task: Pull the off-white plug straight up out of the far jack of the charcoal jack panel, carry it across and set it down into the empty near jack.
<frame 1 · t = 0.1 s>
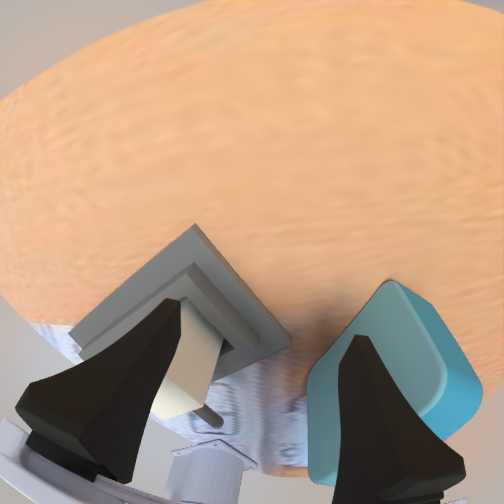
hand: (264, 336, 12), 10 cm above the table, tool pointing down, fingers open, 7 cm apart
plug: (191, 323, 24), point 1 cm above the table, touching jack panel
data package: (364, 337, 24), on the table
jack panel: (164, 335, 26), on the table
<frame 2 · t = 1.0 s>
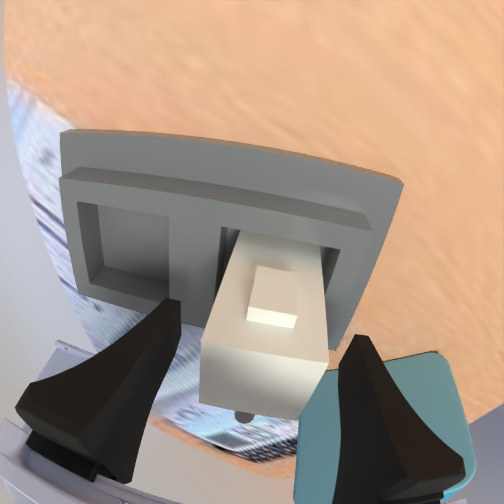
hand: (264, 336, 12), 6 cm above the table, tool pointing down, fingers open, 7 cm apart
plug: (273, 264, 17), point 1 cm above the table, touching jack panel
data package: (374, 376, 23), on the table
jack panel: (207, 241, 18), on the table
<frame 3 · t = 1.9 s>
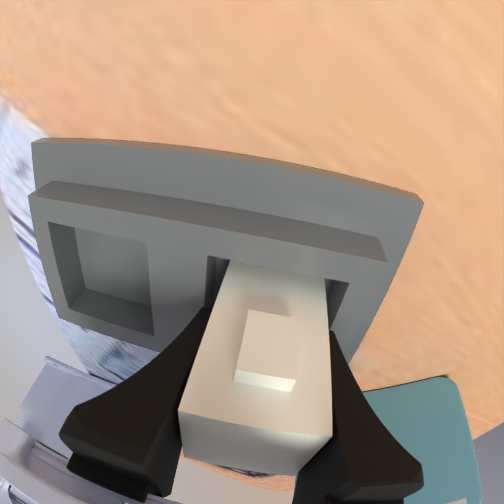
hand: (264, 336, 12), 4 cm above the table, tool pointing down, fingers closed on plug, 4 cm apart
plug: (271, 292, 15), point 1 cm above the table, touching gripper, jack panel
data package: (378, 400, 20), on the table
jack panel: (195, 264, 16), on the table
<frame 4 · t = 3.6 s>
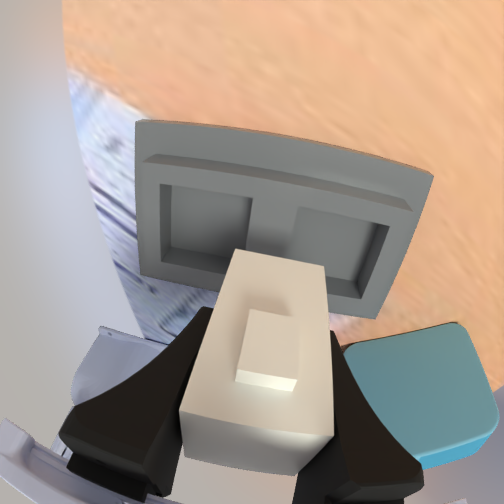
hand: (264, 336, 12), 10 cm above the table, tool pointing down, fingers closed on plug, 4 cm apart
plug: (271, 292, 15), point 7 cm above the table, touching gripper
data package: (403, 346, 25), on the table
jack panel: (271, 222, 21), on the table
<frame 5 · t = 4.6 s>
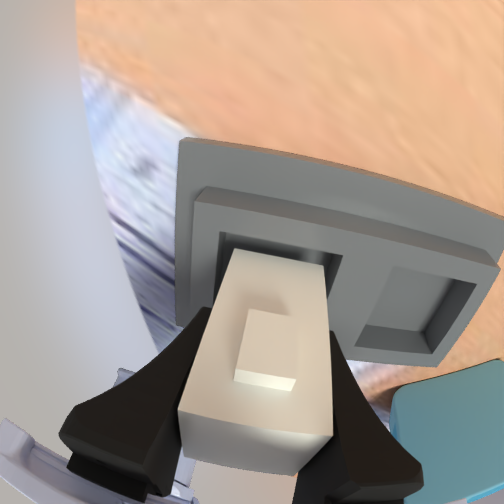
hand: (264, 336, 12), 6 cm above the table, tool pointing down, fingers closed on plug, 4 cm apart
plug: (271, 291, 14), point 3 cm above the table, touching gripper
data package: (447, 383, 22), on the table
jack panel: (343, 272, 17), on the table
when the fingers open (5 cm above the table, at t = 5.2 s): plug stays where it is, resting on jack panel.
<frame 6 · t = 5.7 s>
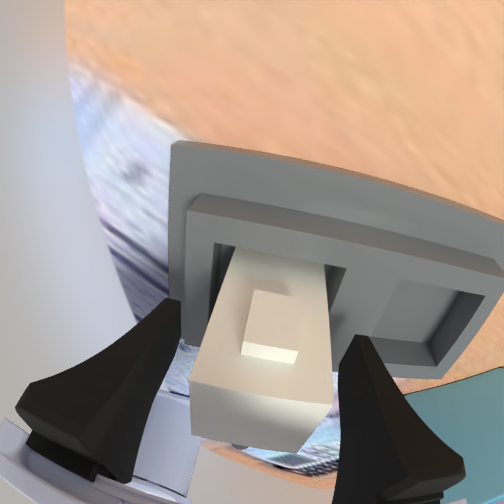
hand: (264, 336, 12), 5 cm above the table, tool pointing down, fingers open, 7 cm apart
plug: (273, 279, 15), point 1 cm above the table, touching jack panel
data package: (450, 392, 21), on the table
jack panel: (346, 282, 16), on the table
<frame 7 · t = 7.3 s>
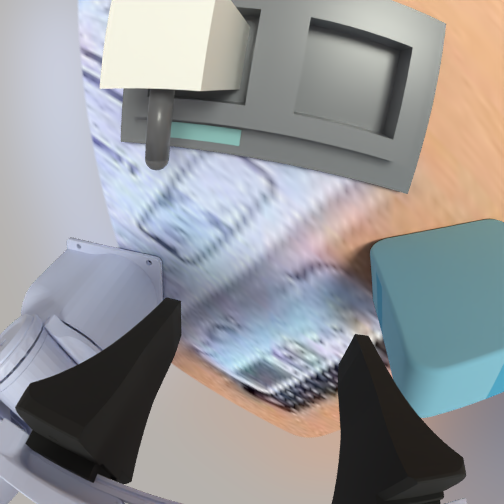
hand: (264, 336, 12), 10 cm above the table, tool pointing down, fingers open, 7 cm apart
plug: (210, 54, 15), point 1 cm above the table, touching jack panel
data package: (437, 251, 21), on the table
jack panel: (279, 64, 15), on the table
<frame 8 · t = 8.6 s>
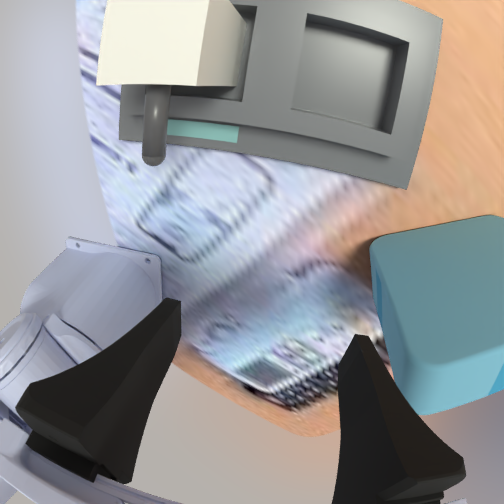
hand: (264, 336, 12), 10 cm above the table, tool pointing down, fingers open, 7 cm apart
plug: (207, 51, 15), point 1 cm above the table, touching jack panel
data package: (437, 248, 20), on the table
jack panel: (276, 61, 15), on the table
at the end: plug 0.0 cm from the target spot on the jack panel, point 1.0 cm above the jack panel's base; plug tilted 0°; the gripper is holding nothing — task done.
